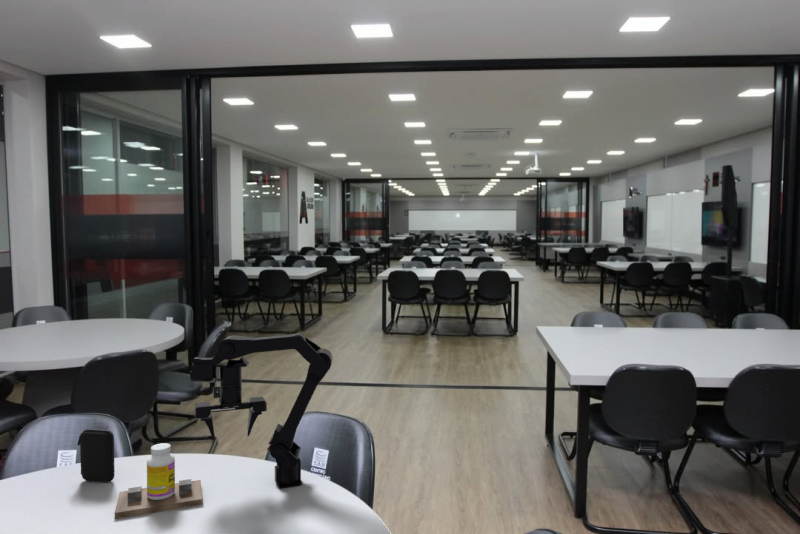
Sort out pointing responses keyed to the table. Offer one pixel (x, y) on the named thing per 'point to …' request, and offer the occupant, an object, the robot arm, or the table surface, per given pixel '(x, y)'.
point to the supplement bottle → (160, 472)
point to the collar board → (140, 504)
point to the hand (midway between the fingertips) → (231, 437)
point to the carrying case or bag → (97, 455)
